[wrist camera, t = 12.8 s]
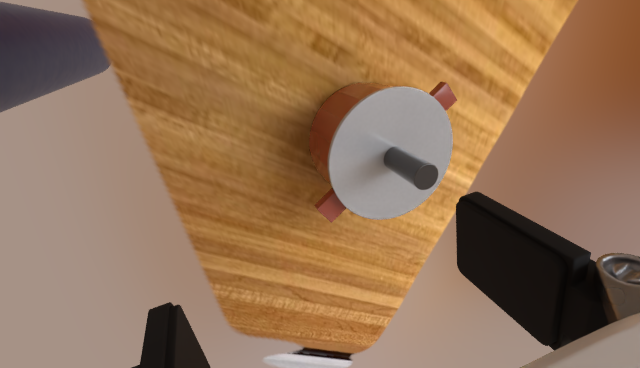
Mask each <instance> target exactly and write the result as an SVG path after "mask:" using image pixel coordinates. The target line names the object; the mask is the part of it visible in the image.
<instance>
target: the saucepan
mask: <svg viewBox="0 0 640 368" xmlns="http://www.w3.org/2000/svg"><path fill="white" fill-rule="evenodd" d="M388 87H390V86H386V85H382V84H378V83H356V84H352V85H349V86H346V87H344V88H342V89H340V90H338V91H337V92H335V93H334V94H333V95H331V96H330V97H329V98H328V99H327V100H326V101H325V102H324V103H323V105H322V106H321V107H320V109H319V110H318V112H317V114H316V116H315V118H314V121H313V123H312V126H311V130H310V138H309V147H310V153H311V157H312V160H313V162H314V164H315V166H316V169H317V171H318V172H319V173H320V174H321V175H322V176H323V177H324V178H325V179H326V180H327V181H328V182H329V183H330V180H329V175H328V153H329V148H330V144H331V140H332V138H333V135H334V133H335V131H336V129H337V127H338V125H339V123H340V122H341V120H342V119H343V118H344V116H345V115H346V114H347V113H348V111H349V110H350V109H351V108H352V107H353V106H354V105H355V104H357V103H358V102H359V101H360V100H362V99H363V98H365V97H366V96H368V95H369V94H371V93H373V92H375V91H378V90H381V89H384V88H388ZM429 94H430V95H431V96H433V97H434V98H435V99H436V100H437V101H438V102H439V103H440V104H441V106H442V107H443V108H444V110H445V111H446V110H447V109H449V108H450V107H451V106H452V105H453V104H454V103H455V102H456V101H457V99H456V97H455V96H454V94H453V92H452V91H451V89H450V87H449V86H448V84H447V83H445V82H440V83H439V84H438V85H437V86H436V87H435V88H434V89H433V90H432V91H431V92H430V93H429ZM330 184H331V183H330ZM314 206H315V207H316V209H317V210H318V211H319V212H320V213H322V214H323V215H324V216H325V217H326V218H327V219H328V220H329V221H330V222H333V221H334V220H335V219H336V218H337V217H338V216H339V215H340V214H341V213H342V212H343V211H344V210H345V209H346V207H345V206H344V205H343V204H342V202H341V201H340V200H339V199H338V198H337V196H336V194H335V193H334V191H333V189H332V188H331V189H330V190H329V191H328V192H327V193H326V194H325V195H324V196H323V197H322V198H321V199H320V200H319V201H318V202H317V203H316V204H315V205H314Z"/></svg>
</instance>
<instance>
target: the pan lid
mask: <svg viewBox="0 0 640 368" xmlns="http://www.w3.org/2000/svg"><path fill="white" fill-rule="evenodd" d="M452 145H453V136H452V128H451V124H450V121H449V118H448V115H447V114H446V112H445V110H444V108H443V107H442V106H441V104H440V103H439V102H438V101H437V100H436V99H435V98H434V97H433V96H431V95H430V94H428V93H427V92H424V91H422V90H420V89H416V88H413V87H407V86H393V87H388V88H384V89H381V90H378V91H375V92H373V93H371V94H369V95H368V96H366V97H365V98H363V99H362V100H360V101H359V102H358V103H357V104H355V105H354V106H353V107H352V108H351V109H350V110H349V111H348V113H347V114H346V115H345V116H344V118H343V119H342V120H341V122H340V123H339V125H338V127H337V129H336V131H335V133H334V135H333V138H332V140H331V144H330V148H329V153H328V175H329V180H330V183H331V186H332V189H333V191H334V193H335V194H336V196H337V198H338V199H339V200H340V201H341V202H342V204H343V205H344V206H345V207H346V208H348V209H349V210H350V211H352V212H353V213H355V214H357V215H359V216H362V217H365V218H369V219H377V220H380V219H390V218H394V217H398V216H401V215H403V214H406V213H408V212H410V211H411V210H413V209H415V208H416V207H418V206H419V205H420V204H422V203H423V202H424V201H425V200H426V199H427V198H428V197H429V196H430V195H431V194H432V193H433V192H434V190H435V189H436V188H437V187H438V185H439V183H440V182H441V180H442V179H443V177H444V175H445V173H446V170H447V168H448V165H449V162H450V158H451V153H452Z"/></svg>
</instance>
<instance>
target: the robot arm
mask: <svg viewBox="0 0 640 368" xmlns="http://www.w3.org/2000/svg"><path fill="white" fill-rule="evenodd" d="M456 229H457V231H456V232H457V266H458V268H459V270H460V272H461V273H462V274H463V275H464V276H465V277H466V278H467V279H468V280H469V281H471V282H472V283H473V284H474V285H475V286H476V287H477V288H479V289H480V290H481V291H482V292H483V293H484V294H486V295H487V296H488V297H489V298H490V299H491V300H492V301H493V302H495V303H496V304H497V305H498V306H499V307H500V308H501V309H502V310H504V311H505V312H506V313H507V314H508V315H509V316H510V317H512V318H513V319H514V320H515V321H516V322H517V323H518V324H520V325H521V326H522V327H523V328H524V329H525V330H526V331H528V332H529V333H530V334H531V335H532V336H533V337H534V338H536V339H537V340H538V341H539V342H540V343H542V344H543V345H545V346H548V345H549V346H550V347H551V348H552V349H553V350H554V351H553V352H551V353H549V354H547V355H545V356H543V357H541V358H539V359H537V360H535V361H533V362H531V363H529V364H527V365H525V366H523V367H521V368H640V257H639V256H635V255H631V254H624V253H610V254H605V255H603V256H601V257H599V258H598V260H597V261H596V262H595V261H593V260H591V259H590V255H591V252H589V251H587V250H585V249H583V248H581V247H579V246H578V245H576V244H574V243H572V242H570V241H568V240H567V239H565V238H563V237H561V236H559V235H557V234H556V233H554V232H552V231H550V230H548V229H546V228H544V227H543V226H541V225H539V224H537V223H535V222H533V221H531V220H530V219H528V218H526V217H524V216H522V215H520V214H518V213H517V212H515V211H513V210H511V209H509V208H507V207H505V206H504V205H502V204H500V203H498V202H496V201H494V200H493V199H491V198H489V197H487V196H485V195H483V194H482V193H479V192H473V193H470V194H468V195H465V196H462V197H461V198H460V199H459V202H458V203H457V204H456ZM132 368H210V365H209V364H208V361H207V359H206V357H205V355H204V353H203V351H202V349H201V347H200V345H199V343H198V341H197V338H196V337H195V334H194V332H193V330H192V328H191V326H190V324H189V322H188V320H187V318H186V316H185V314H184V312H183V310H182V308H181V306H180V305H176V306H173V304H172V303H170V302H169V303H166V304H164V305H161V306H158V307H155V308H153V309H150V310H149V312H148V318H147V324H146V331H145V337H144V343H143V349H142V355H141V362H140V365H138V366H135V367H132Z"/></svg>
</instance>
